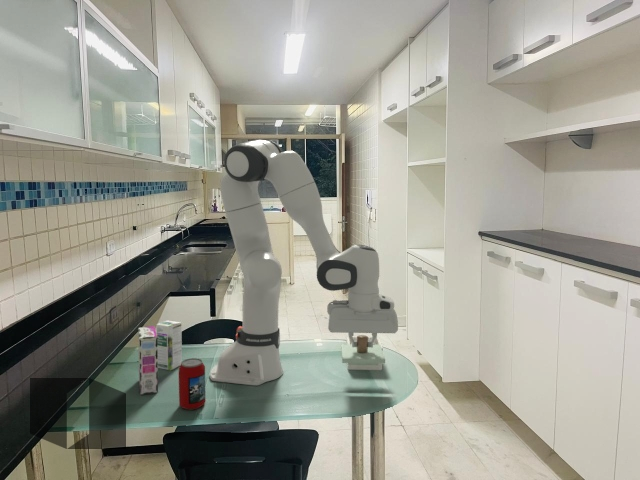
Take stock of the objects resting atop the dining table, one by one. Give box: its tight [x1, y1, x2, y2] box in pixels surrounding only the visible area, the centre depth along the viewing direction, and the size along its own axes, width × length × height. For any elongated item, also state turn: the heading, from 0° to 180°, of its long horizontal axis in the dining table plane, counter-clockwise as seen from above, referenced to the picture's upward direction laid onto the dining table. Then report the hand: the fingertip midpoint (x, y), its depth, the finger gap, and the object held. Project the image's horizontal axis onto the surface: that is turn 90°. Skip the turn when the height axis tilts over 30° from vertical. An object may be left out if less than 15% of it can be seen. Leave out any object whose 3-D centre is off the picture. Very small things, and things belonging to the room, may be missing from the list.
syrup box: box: [155, 320, 183, 371], centre depth 147 cm, size 6×6×14 cm
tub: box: [345, 335, 384, 371], centre depth 150 cm, size 11×11×8 cm
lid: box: [340, 334, 386, 365], centre depth 134 cm, size 12×12×7 cm
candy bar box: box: [137, 325, 159, 396], centre depth 132 cm, size 11×5×16 cm, turn 23°
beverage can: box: [178, 357, 206, 411], centre depth 121 cm, size 7×7×12 cm
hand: (362, 346), depth 134 cm, fingers closed on lid, 3 cm apart
